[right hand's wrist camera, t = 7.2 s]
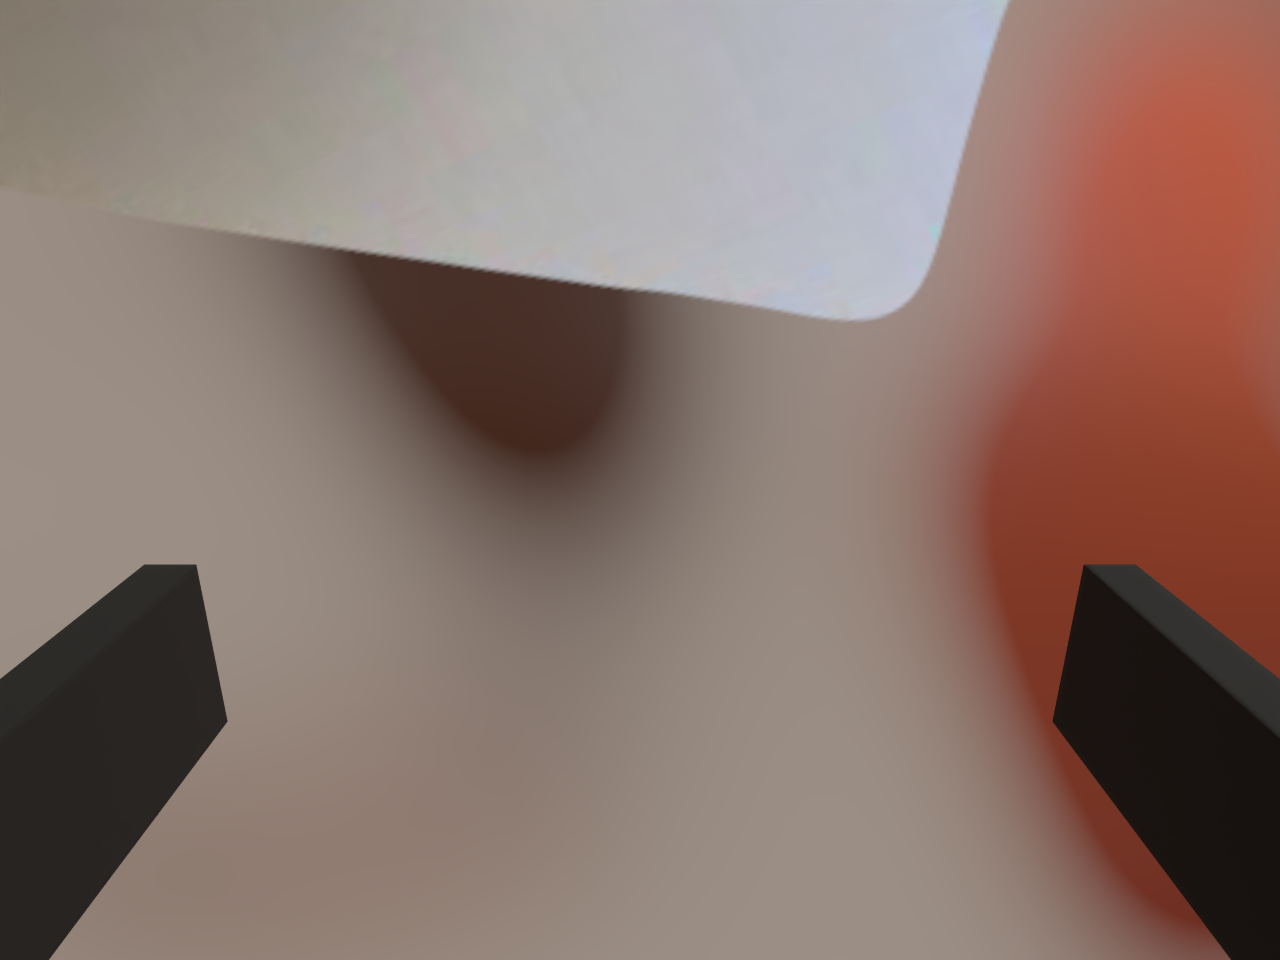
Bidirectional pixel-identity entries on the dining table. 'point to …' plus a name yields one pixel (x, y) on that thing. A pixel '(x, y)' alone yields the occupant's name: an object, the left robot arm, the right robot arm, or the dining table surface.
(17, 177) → the dining table surface
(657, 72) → the dining table surface
